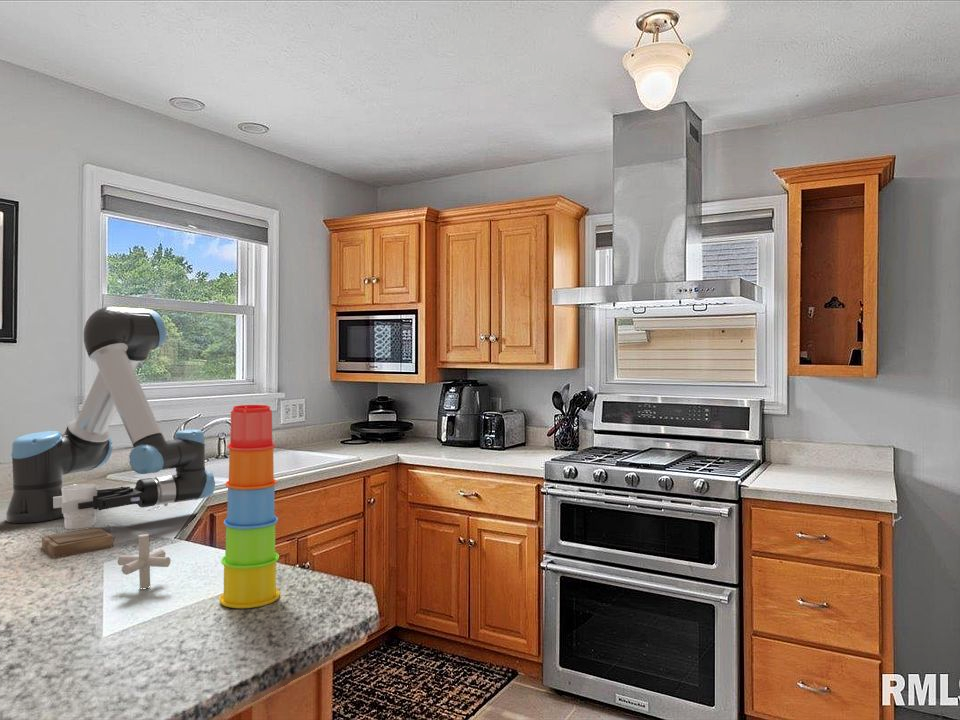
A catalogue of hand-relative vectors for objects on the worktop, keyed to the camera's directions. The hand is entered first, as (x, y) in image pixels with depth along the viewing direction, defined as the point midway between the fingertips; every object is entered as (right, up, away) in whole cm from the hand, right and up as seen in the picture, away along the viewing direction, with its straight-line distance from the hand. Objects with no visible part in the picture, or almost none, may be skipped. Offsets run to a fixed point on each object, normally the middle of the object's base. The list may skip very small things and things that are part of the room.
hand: (57, 505), depth 173 cm
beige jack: (+41, -8, -40) cm, 58 cm away
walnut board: (+10, -8, -9) cm, 16 cm away
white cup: (+4, -6, +3) cm, 8 cm away
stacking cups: (+63, -7, -48) cm, 79 cm away
